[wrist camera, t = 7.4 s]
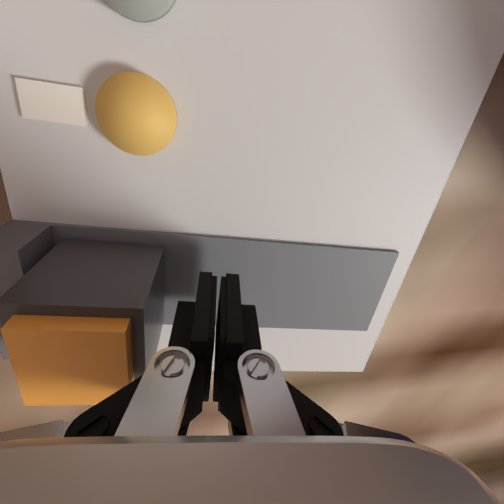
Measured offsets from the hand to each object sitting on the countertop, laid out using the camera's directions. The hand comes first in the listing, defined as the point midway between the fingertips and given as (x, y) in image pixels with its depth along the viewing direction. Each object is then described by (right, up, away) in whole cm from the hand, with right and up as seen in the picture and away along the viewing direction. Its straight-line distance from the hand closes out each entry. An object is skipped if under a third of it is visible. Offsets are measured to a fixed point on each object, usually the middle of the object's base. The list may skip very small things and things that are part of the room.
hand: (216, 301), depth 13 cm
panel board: (+1, +5, 0) cm, 6 cm away
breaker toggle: (-5, +1, 0) cm, 4 cm away
